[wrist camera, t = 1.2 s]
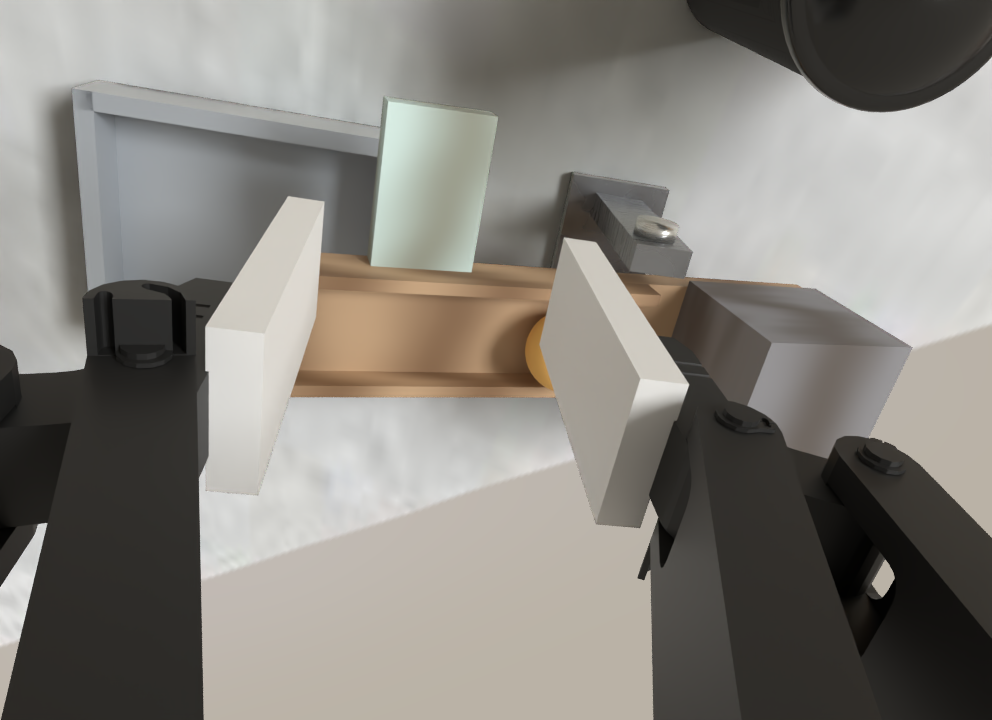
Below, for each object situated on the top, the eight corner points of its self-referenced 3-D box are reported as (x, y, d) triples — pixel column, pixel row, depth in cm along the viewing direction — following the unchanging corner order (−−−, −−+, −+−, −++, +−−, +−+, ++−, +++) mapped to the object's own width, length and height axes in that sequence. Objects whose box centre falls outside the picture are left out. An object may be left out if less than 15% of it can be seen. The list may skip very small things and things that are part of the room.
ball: (505, 368, 31) (538, 411, 28) (520, 296, 30) (557, 333, 27) (574, 366, 32) (611, 406, 30) (592, 297, 31) (633, 332, 28)
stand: (531, 354, 41) (555, 439, 33) (572, 171, 36) (611, 222, 29) (615, 364, 42) (657, 449, 34) (665, 187, 37) (727, 240, 30)
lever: (280, 372, 30) (289, 481, 24) (295, 82, 25) (311, 128, 19) (760, 378, 38) (857, 460, 32) (844, 161, 33) (979, 210, 27)
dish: (113, 313, 38) (91, 336, 35) (98, 80, 33) (71, 87, 30) (375, 344, 40) (372, 369, 37) (400, 130, 35) (398, 141, 32)
